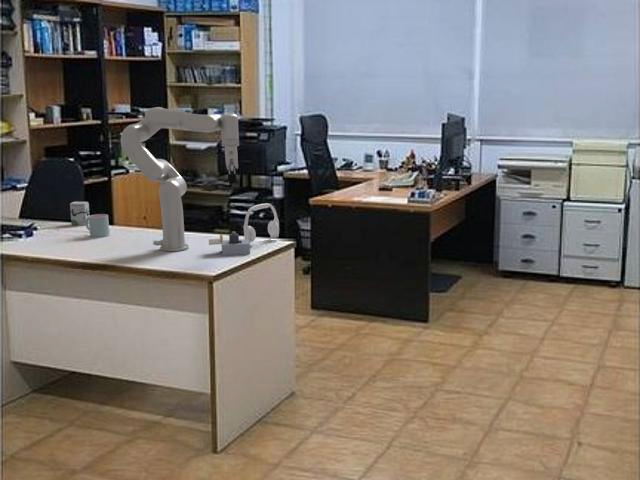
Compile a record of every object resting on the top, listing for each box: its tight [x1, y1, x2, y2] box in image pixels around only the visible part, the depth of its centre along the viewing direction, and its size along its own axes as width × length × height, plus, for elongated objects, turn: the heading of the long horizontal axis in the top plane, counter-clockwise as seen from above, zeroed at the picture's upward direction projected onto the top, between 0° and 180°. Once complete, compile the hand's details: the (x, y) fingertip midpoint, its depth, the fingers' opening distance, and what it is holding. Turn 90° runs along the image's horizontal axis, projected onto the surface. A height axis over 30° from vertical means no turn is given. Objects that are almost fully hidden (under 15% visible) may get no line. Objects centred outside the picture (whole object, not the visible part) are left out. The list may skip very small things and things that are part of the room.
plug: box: [228, 231, 240, 244], centre depth 362 cm, size 4×4×9 cm
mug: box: [85, 213, 110, 239], centre depth 406 cm, size 14×9×10 cm
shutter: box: [208, 233, 224, 246], centre depth 361 cm, size 6×8×3 cm
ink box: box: [69, 201, 90, 226], centre depth 437 cm, size 9×5×12 cm, turn 81°
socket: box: [221, 238, 251, 256], centre depth 363 cm, size 12×10×4 cm
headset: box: [243, 202, 280, 244], centre depth 382 cm, size 20×7×18 cm, turn 137°
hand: (232, 181), depth 364 cm, fingers open, 9 cm apart
